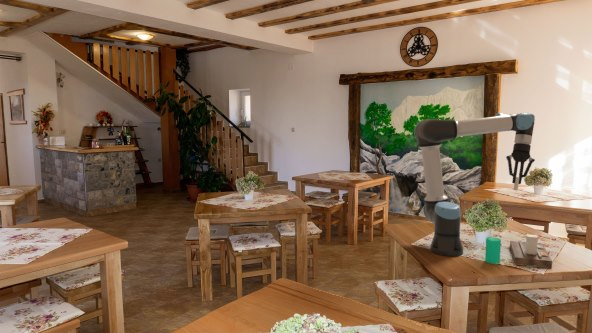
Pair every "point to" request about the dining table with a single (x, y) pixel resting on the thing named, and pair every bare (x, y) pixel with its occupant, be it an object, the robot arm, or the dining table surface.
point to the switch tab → (531, 244)
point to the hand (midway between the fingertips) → (515, 190)
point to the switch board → (530, 255)
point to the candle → (493, 250)
